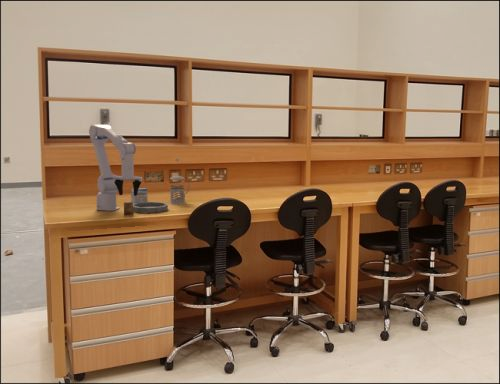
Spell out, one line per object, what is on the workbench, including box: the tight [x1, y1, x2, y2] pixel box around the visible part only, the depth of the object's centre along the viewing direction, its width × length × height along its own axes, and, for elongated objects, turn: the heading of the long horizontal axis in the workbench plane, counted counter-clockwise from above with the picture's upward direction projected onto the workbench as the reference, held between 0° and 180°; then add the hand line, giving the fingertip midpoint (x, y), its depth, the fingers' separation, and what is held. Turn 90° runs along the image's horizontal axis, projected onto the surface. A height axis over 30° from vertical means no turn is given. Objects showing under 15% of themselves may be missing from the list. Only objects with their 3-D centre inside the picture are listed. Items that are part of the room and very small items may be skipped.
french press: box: [168, 158, 191, 205], centre depth 275 cm, size 10×12×25 cm
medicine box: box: [130, 187, 149, 204], centre depth 269 cm, size 8×4×9 cm, turn 126°
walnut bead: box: [123, 201, 134, 216], centre depth 241 cm, size 4×4×6 cm
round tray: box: [133, 201, 169, 214], centre depth 253 cm, size 18×18×3 cm
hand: (128, 195), depth 240 cm, fingers open, 7 cm apart
